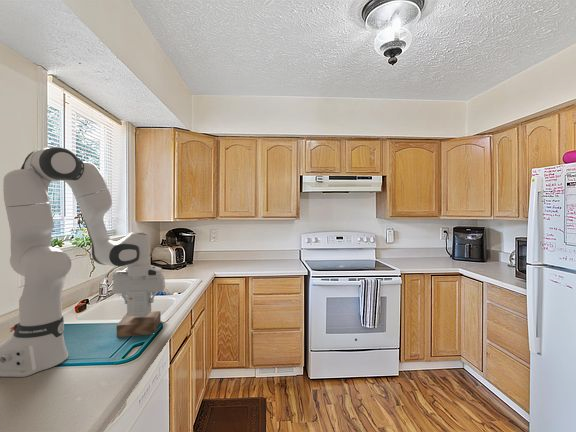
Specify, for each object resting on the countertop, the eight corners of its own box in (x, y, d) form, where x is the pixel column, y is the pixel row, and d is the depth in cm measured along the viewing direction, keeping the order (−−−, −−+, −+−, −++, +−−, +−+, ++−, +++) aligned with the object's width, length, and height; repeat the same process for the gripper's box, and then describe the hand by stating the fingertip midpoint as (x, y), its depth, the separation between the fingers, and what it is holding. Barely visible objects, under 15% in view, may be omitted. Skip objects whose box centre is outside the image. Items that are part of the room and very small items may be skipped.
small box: (151, 311, 134) (151, 287, 133) (146, 316, 128) (146, 291, 128) (132, 311, 133) (132, 287, 133) (126, 316, 127) (126, 291, 127)
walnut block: (116, 337, 123) (116, 325, 123) (126, 324, 136) (126, 313, 136) (154, 334, 126) (154, 322, 126) (160, 322, 139) (160, 311, 139)
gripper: (109, 272, 125) (109, 306, 126) (162, 271, 129) (162, 304, 129) (115, 269, 131) (115, 301, 132) (165, 268, 135) (166, 299, 135)
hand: (139, 302), depth 131 cm, fingers closed on small box, 8 cm apart
